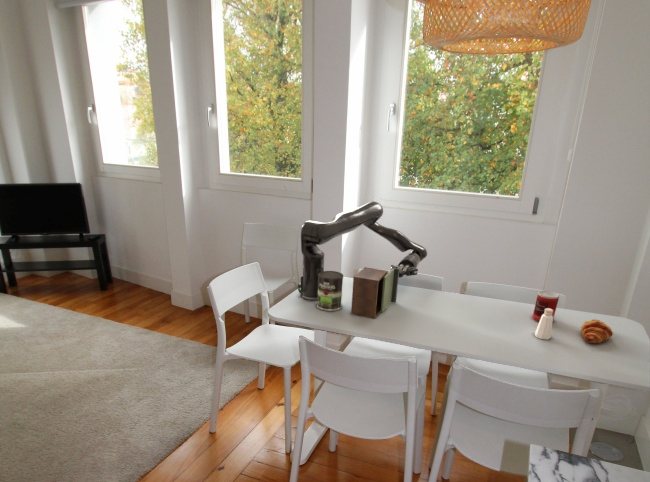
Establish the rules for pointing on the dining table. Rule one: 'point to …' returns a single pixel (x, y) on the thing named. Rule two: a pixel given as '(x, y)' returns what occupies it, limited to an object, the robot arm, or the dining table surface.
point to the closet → (367, 292)
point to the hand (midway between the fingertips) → (398, 275)
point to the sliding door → (390, 288)
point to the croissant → (596, 331)
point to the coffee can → (329, 290)
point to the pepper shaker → (545, 325)
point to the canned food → (545, 303)
